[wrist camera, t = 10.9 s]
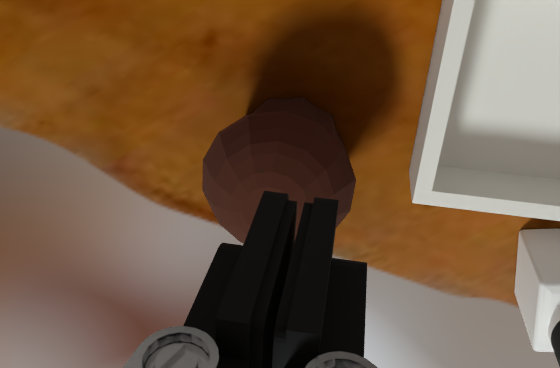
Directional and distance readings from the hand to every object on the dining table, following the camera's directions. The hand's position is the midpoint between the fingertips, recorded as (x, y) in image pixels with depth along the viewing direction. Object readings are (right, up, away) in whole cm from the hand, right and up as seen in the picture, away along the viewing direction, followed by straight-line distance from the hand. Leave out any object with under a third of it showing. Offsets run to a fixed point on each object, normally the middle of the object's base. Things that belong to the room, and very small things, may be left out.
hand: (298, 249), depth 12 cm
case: (+19, +9, +25) cm, 33 cm away
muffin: (+1, +5, +32) cm, 32 cm away
